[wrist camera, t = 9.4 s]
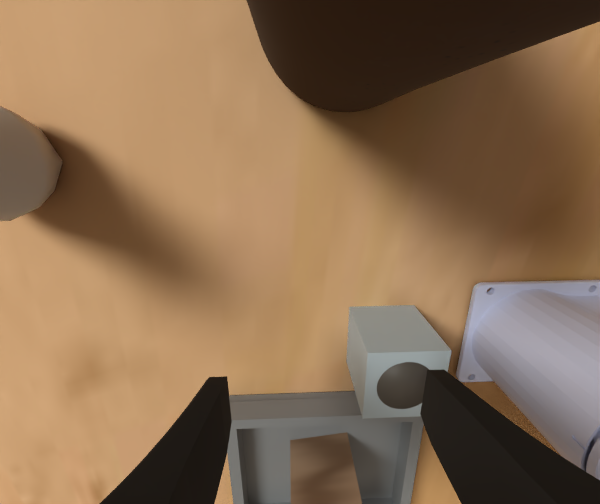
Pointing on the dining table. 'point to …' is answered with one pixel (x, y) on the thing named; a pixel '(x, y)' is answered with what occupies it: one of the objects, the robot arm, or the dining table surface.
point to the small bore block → (323, 471)
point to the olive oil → (399, 42)
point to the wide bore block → (392, 359)
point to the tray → (310, 423)
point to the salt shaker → (24, 166)
